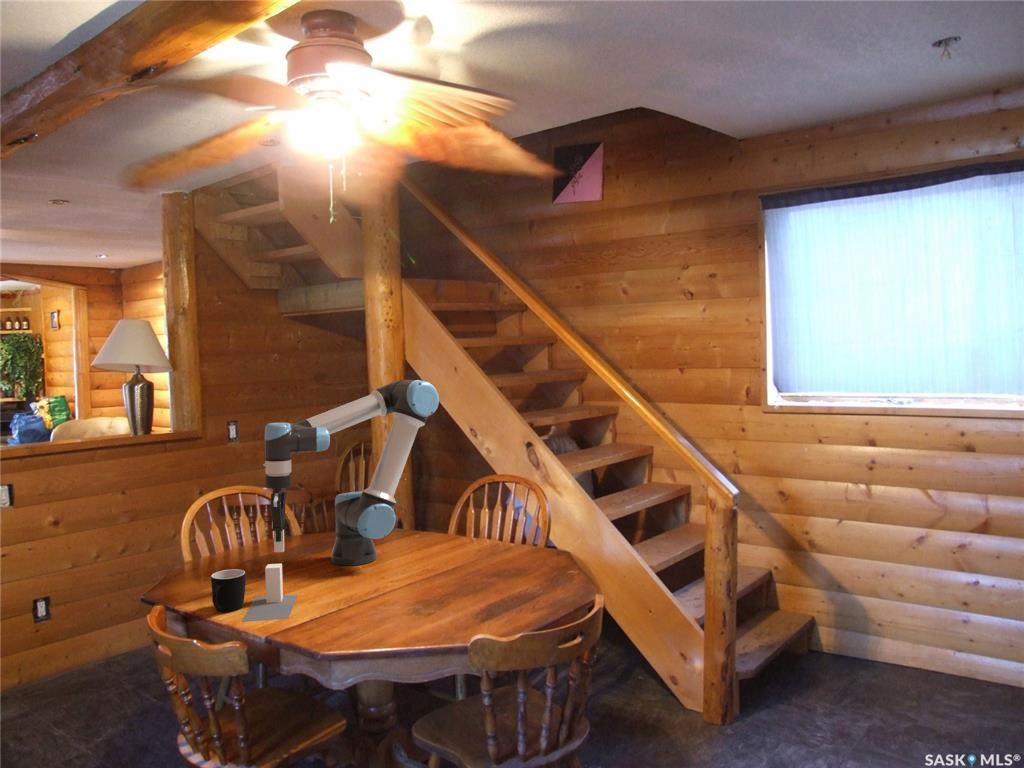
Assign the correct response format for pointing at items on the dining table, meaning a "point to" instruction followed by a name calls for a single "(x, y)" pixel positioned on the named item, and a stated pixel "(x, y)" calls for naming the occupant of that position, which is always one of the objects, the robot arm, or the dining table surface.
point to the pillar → (274, 583)
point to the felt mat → (270, 609)
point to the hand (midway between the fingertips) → (279, 551)
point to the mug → (228, 590)
